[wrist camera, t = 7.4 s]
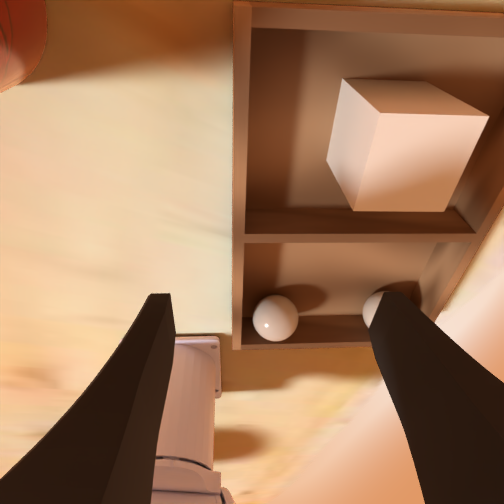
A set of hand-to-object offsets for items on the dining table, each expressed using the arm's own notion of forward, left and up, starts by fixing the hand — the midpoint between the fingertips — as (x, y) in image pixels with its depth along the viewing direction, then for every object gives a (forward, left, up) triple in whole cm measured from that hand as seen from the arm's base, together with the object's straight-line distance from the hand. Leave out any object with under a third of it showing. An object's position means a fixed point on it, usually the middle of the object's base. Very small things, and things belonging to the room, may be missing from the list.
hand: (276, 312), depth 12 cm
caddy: (-2, -6, -10) cm, 11 cm away
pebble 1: (-9, -2, -9) cm, 13 cm away
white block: (+3, -6, -9) cm, 11 cm away
